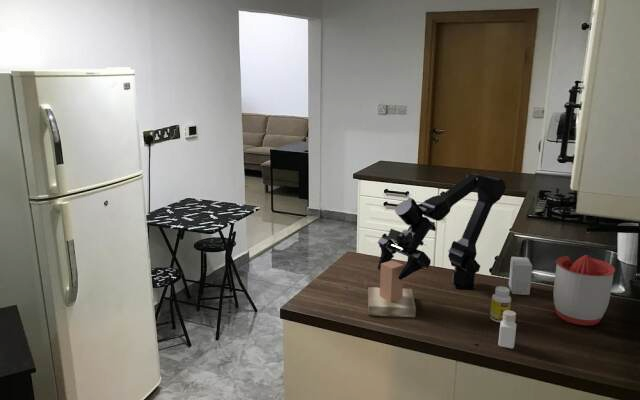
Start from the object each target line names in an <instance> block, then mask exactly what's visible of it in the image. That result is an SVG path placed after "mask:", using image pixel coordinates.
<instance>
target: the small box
mask: <svg viewBox="0 0 640 400" xmlns="http://www.w3.org/2000/svg"><path fill="white" fill-rule="evenodd" d="M532 274H533V264H532V263H531V261H530V259H529V257H525V256H524V257H523V256H522V257H521V256H511V258H510V267H509V278H508V286H509V287H508V288H509V289H510V293H511V294H512V295H523V296H525V295H526V296H530V294H531V293H530V292H531V286H532V285H531V284H532V283H531V282H532Z"/></svg>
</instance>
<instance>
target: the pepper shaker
mask: <svg viewBox="0 0 640 400" xmlns="http://www.w3.org/2000/svg"><path fill="white" fill-rule="evenodd" d="M516 317H517V313H516V312H515V311H514V310H511V309H510V310H505V311H504V312H503V321H501V323H499V324H500V325H499V331H498V333H499V334H498V343H497V344H498V346H499V347H501V348H508V349H510V350H511V349H514V348H515V343H516V342H515V341H516V334H517V333H516V331H517V323H516Z"/></svg>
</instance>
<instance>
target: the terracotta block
mask: <svg viewBox="0 0 640 400" xmlns="http://www.w3.org/2000/svg"><path fill="white" fill-rule="evenodd" d="M404 267H405V265H404V264H402V263H400V262H397V261H396V260H393V259H391V260H390V261H388V262H385V263H381V270H380V274H379V275H380V278H379V279H380V280H379V288H380V297H382V298H384V299H386V300H388V301H390V302H392V301H395V300H398V299H401V298H402V295H403V288H404V278H403V279H401V280H400V279H399V278H398V277H399V275H400V273H401V272H402V270H403V268H404Z"/></svg>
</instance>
